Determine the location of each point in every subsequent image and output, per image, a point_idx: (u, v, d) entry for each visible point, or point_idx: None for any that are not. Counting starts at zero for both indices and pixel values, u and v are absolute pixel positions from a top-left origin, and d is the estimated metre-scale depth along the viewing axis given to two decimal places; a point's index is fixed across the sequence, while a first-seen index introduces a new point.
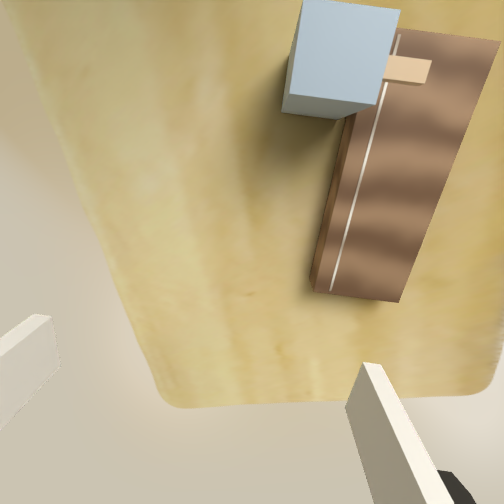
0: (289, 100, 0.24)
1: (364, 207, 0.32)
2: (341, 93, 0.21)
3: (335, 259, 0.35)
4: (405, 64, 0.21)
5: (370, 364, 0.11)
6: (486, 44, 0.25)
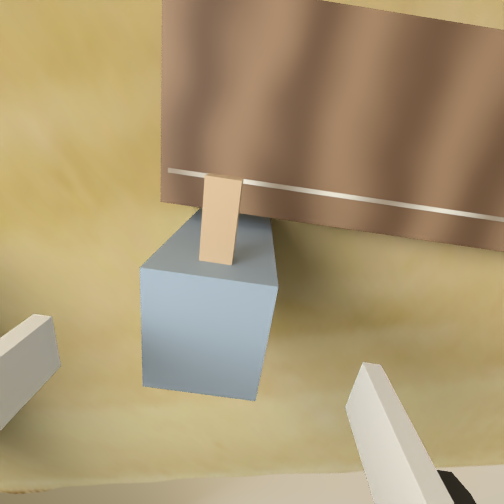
0: None
1: (427, 185, 0.17)
2: (258, 338, 0.12)
3: None
4: (211, 221, 0.12)
5: (371, 364, 0.11)
6: (169, 6, 0.14)
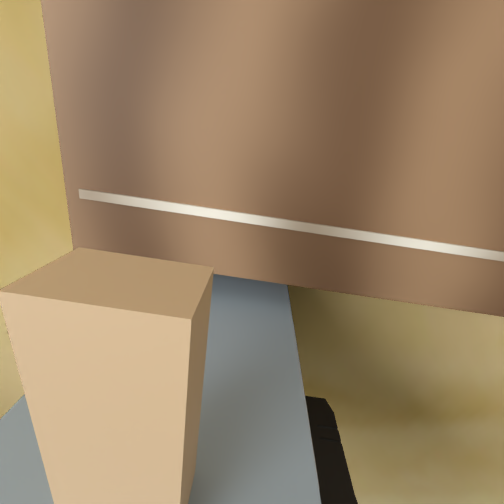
0: None
1: None
2: None
3: None
4: (79, 451, 0.03)
5: None
6: None
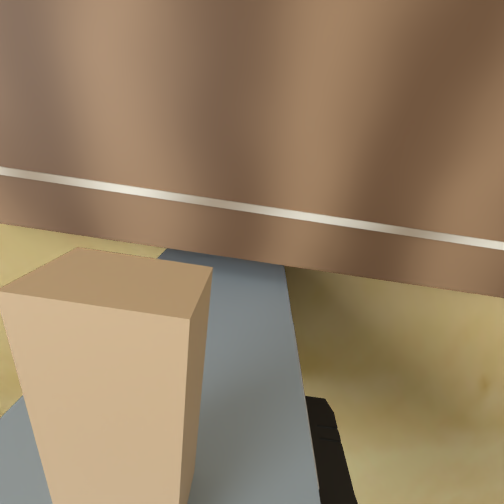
0: None
1: (287, 173, 0.10)
2: None
3: (459, 248, 0.10)
4: (77, 451, 0.03)
5: None
6: None
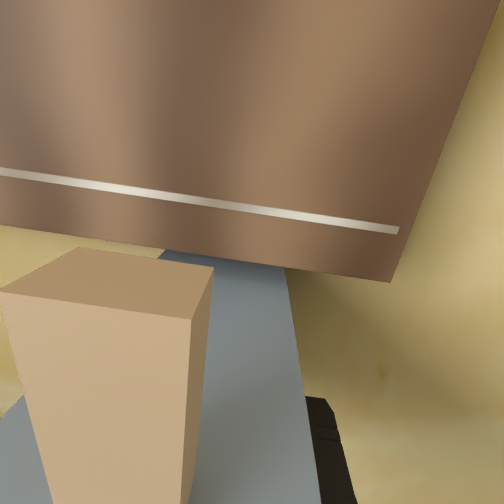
0: None
1: (78, 141, 0.09)
2: None
3: (272, 221, 0.10)
4: (79, 451, 0.03)
5: None
6: None
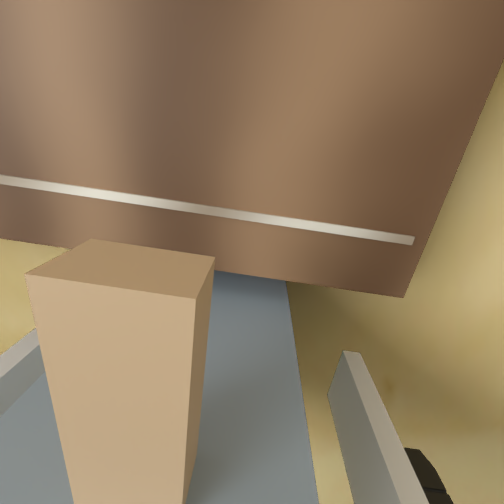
0: None
1: (52, 140, 0.08)
2: None
3: (271, 230, 0.09)
4: (92, 423, 0.03)
5: (350, 352, 0.11)
6: None
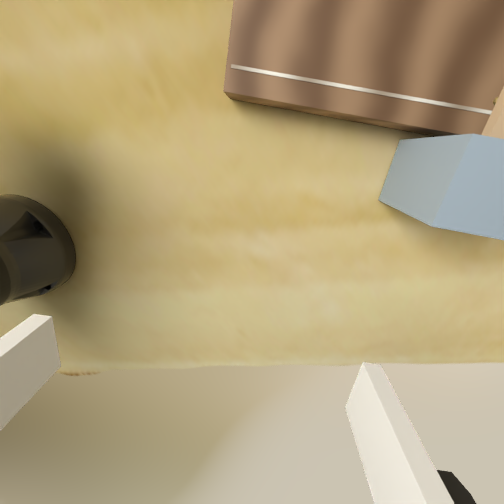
0: None
1: (412, 80, 0.24)
2: None
3: (480, 115, 0.25)
4: None
5: (371, 364, 0.11)
6: None
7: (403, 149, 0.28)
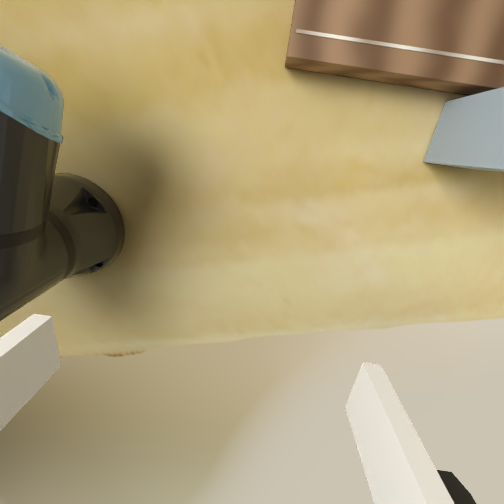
0: None
1: (467, 39, 0.26)
2: None
3: None
4: None
5: (370, 364, 0.11)
6: None
7: (451, 109, 0.30)
